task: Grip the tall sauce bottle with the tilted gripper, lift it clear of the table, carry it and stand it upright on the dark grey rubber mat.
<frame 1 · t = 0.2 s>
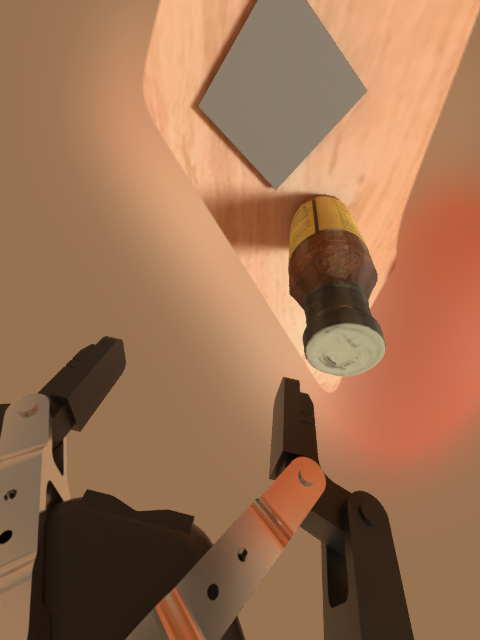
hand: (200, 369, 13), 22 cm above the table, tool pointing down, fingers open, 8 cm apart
rubber mat: (278, 99, 23), on the table
sauce bottle: (321, 220, 29), on the table
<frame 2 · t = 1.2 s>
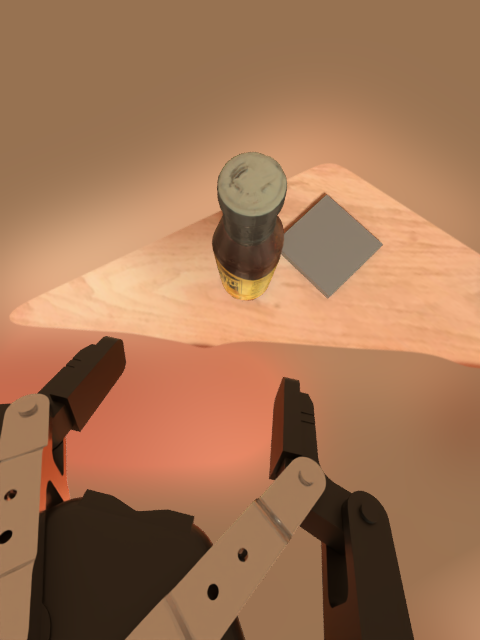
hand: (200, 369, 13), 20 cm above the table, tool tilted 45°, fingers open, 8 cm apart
rubber mat: (326, 247, 35), on the table
sauce bottle: (246, 281, 34), on the table
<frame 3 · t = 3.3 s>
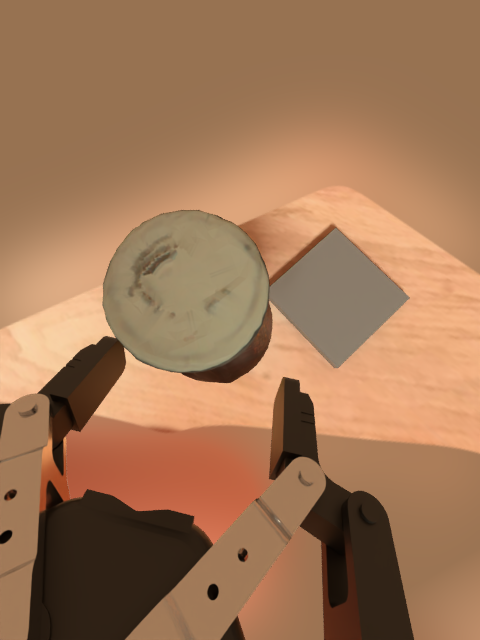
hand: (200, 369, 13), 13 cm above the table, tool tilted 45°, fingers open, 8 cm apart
rubber mat: (333, 297, 26), on the table
sauce bottle: (226, 341, 26), on the table
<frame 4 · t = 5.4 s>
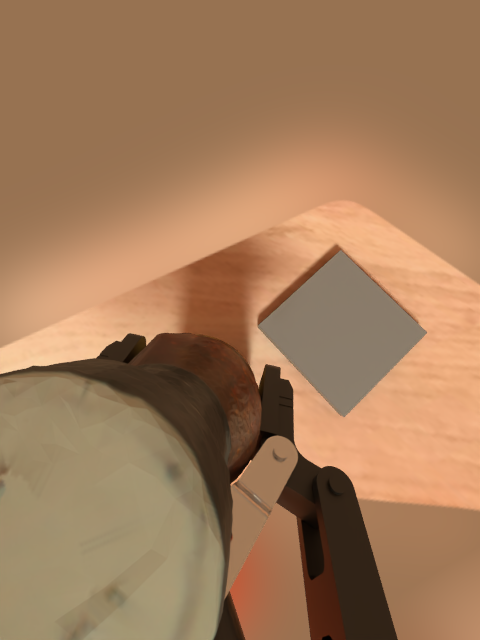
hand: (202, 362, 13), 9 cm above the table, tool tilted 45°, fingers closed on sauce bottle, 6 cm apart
rubber mat: (338, 330, 23), on the table
sauce bottle: (214, 382, 22), on the table, touching gripper
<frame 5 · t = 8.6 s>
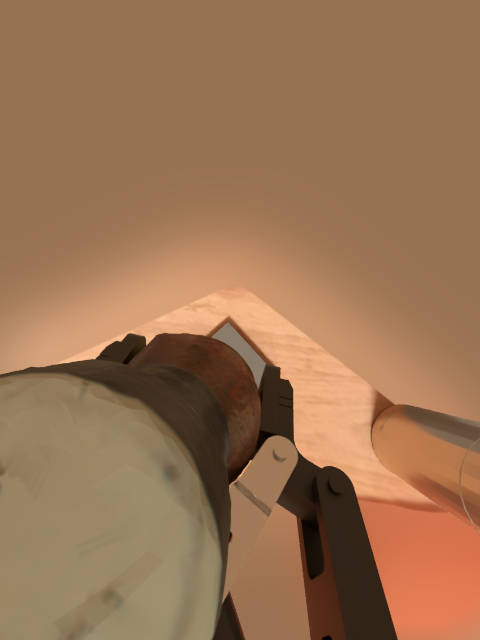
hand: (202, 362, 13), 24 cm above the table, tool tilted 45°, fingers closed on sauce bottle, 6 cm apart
rubber mat: (225, 372, 36), on the table
sauce bottle: (214, 382, 22), point 14 cm above the table, touching gripper
when the fingers open (12 cm above the table, at t = 12.1 s): sauce bottle drops 1 cm, resting on rubber mat.
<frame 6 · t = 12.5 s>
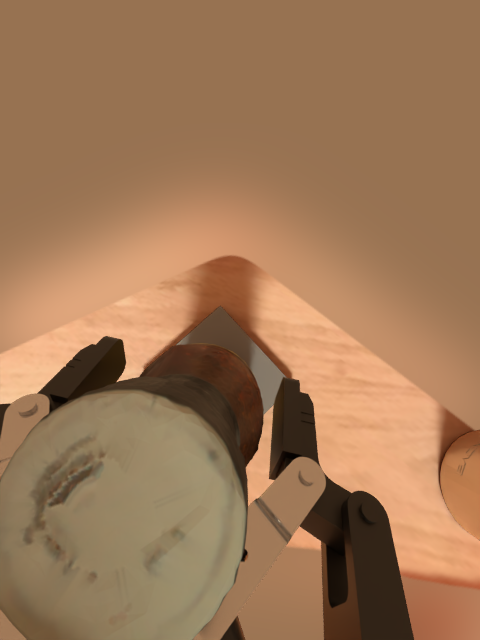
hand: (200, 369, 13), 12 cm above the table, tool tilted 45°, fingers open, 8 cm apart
rubber mat: (216, 380, 25), on the table
sauce bottle: (217, 384, 24), point 1 cm above the table, touching rubber mat
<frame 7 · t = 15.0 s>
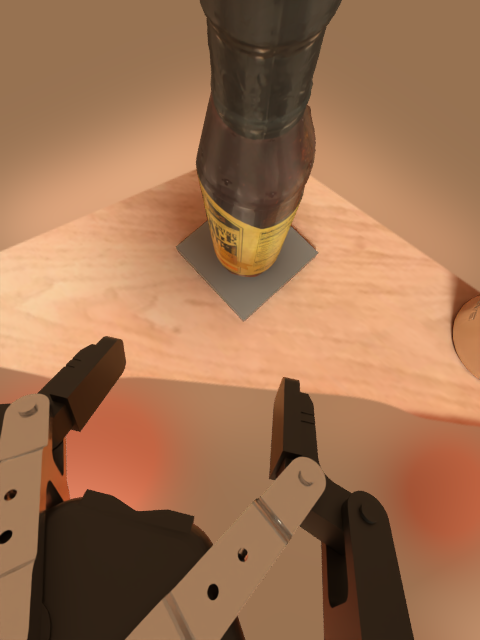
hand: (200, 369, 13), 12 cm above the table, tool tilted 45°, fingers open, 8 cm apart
rubber mat: (246, 254, 27), on the table
sauce bottle: (247, 253, 26), point 1 cm above the table, touching rubber mat
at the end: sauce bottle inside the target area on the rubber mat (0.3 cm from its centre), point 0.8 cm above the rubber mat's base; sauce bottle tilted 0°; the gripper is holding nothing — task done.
